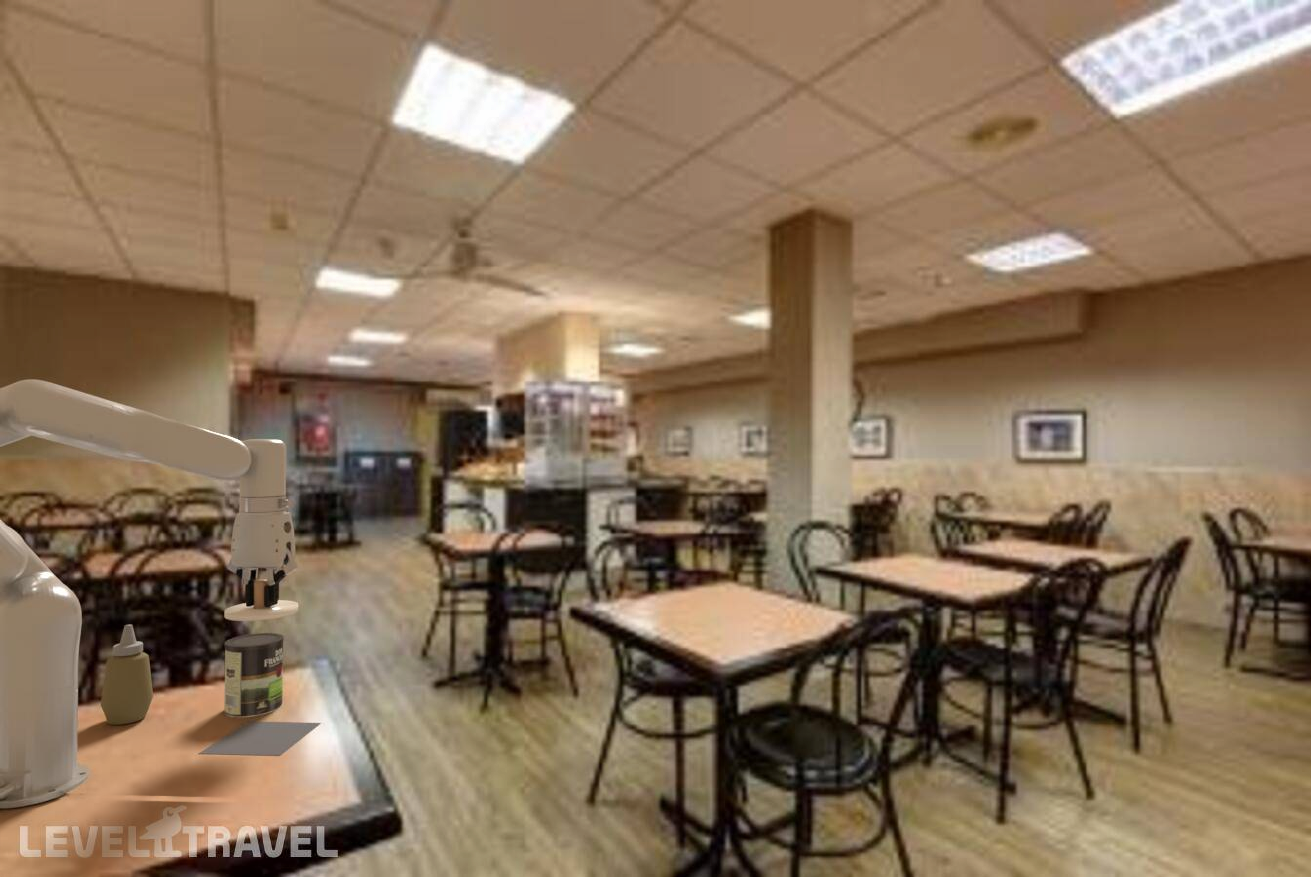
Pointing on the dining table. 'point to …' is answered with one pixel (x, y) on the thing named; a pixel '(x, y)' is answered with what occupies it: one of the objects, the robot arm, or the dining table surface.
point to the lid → (260, 607)
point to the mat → (261, 738)
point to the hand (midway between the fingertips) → (262, 604)
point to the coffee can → (253, 674)
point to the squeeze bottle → (127, 681)
